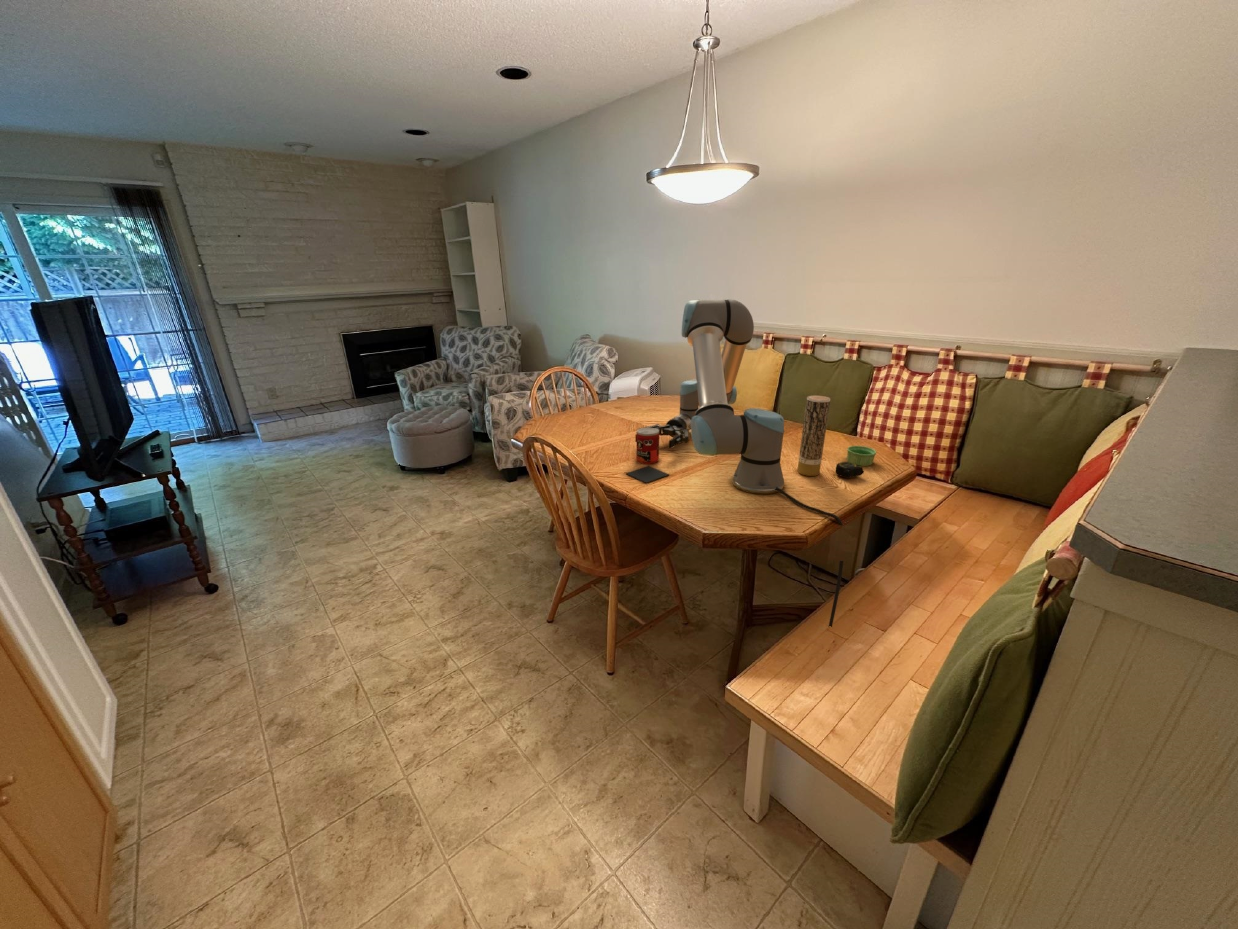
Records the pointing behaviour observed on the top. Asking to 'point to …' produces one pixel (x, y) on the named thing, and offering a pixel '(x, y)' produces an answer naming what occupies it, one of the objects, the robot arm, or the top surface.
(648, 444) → the canned food
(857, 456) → the ramekin
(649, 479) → the coaster
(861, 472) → the tape measure
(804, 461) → the paper tube
